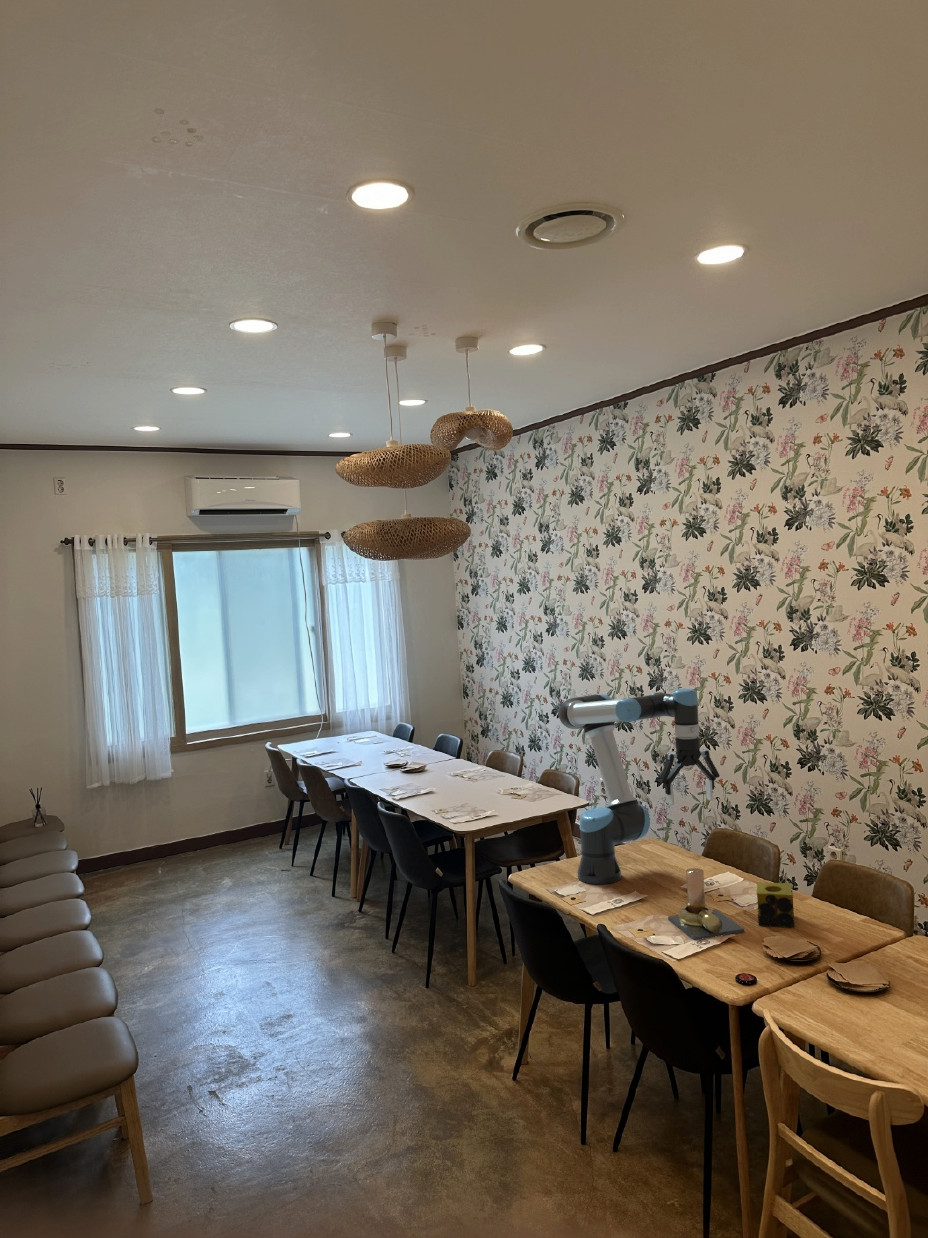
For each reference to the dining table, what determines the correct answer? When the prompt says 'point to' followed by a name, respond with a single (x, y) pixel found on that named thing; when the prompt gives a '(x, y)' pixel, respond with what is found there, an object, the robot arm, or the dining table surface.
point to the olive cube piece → (775, 904)
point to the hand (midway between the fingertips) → (690, 802)
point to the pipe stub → (695, 890)
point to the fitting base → (704, 931)
